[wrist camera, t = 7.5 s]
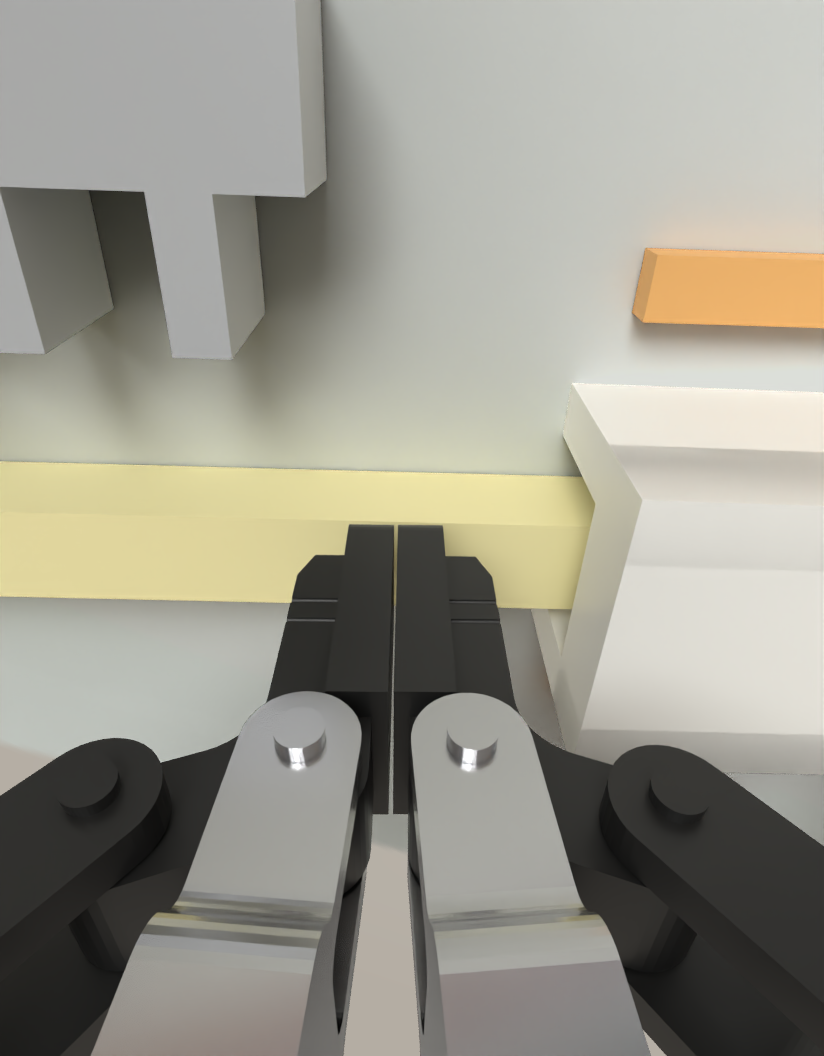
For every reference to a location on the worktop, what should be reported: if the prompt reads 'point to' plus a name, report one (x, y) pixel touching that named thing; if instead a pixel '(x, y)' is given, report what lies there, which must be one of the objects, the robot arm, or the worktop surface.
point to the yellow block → (272, 528)
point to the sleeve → (695, 578)
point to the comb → (151, 155)
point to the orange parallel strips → (731, 288)
